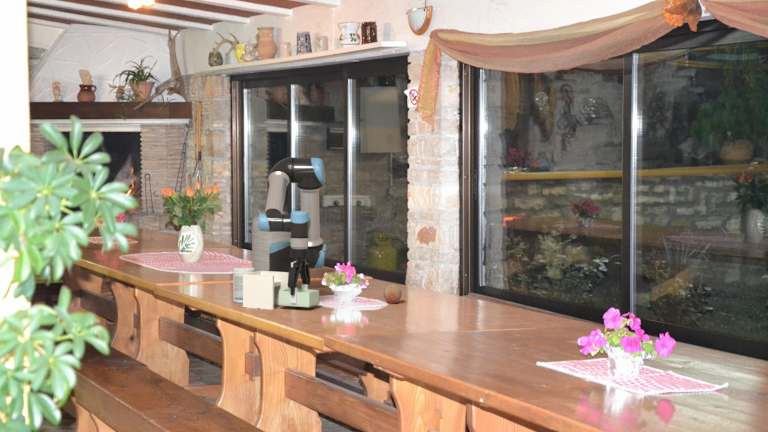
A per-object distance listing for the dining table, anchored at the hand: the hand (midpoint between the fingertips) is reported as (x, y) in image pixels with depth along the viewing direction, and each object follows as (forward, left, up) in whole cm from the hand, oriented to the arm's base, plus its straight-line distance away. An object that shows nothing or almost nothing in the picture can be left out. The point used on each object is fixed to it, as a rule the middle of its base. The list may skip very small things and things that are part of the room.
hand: (299, 301), depth 440 cm
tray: (0, 0, -1) cm, 1 cm away
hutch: (0, -16, -3) cm, 16 cm away
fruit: (-32, +29, -3) cm, 44 cm away
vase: (-92, -61, -3) cm, 110 cm away
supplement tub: (-6, -30, -3) cm, 30 cm away
